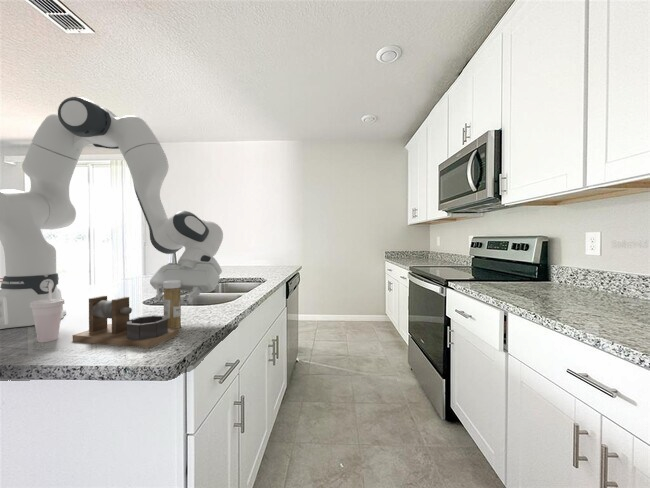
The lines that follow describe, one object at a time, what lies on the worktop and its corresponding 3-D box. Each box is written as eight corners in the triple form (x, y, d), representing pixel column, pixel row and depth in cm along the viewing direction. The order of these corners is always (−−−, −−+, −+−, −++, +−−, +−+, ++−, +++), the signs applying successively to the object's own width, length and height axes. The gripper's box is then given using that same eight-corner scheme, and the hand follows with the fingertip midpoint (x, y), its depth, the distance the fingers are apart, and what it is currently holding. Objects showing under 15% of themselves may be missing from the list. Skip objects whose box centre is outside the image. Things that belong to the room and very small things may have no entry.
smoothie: (71, 337, 77) (70, 282, 77) (40, 345, 71) (39, 286, 71) (54, 334, 79) (54, 281, 79) (23, 342, 73) (23, 284, 73)
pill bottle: (182, 328, 85) (182, 281, 85) (164, 331, 82) (163, 282, 82) (179, 324, 89) (179, 279, 88) (162, 327, 86) (162, 280, 86)
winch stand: (72, 341, 74) (72, 300, 74) (109, 329, 84) (109, 293, 84) (149, 348, 69) (148, 305, 69) (178, 335, 79) (178, 297, 79)
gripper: (160, 256, 95) (134, 293, 85) (218, 257, 90) (198, 296, 81) (170, 269, 99) (146, 305, 90) (226, 271, 95) (208, 309, 85)
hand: (172, 301), depth 85 cm, fingers open, 8 cm apart
